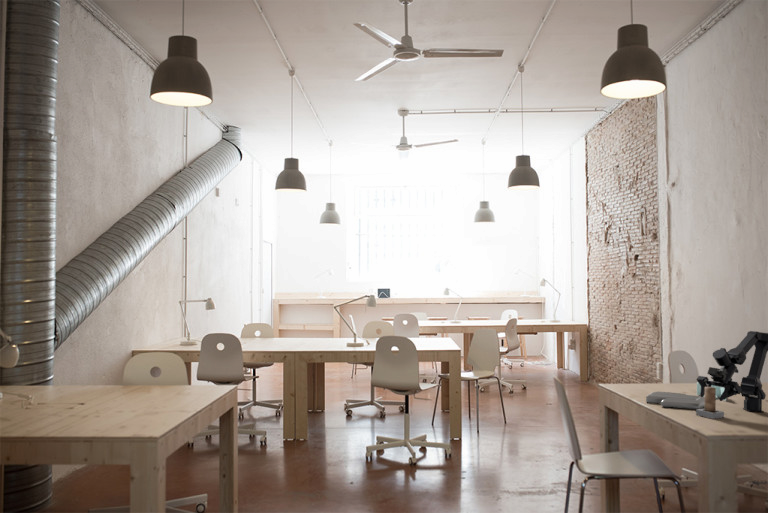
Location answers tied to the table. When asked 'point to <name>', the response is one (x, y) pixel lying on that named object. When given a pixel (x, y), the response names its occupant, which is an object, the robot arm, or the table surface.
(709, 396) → the walnut dowel
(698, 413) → the socket block
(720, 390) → the l-shaped corner panel
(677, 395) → the emblem
